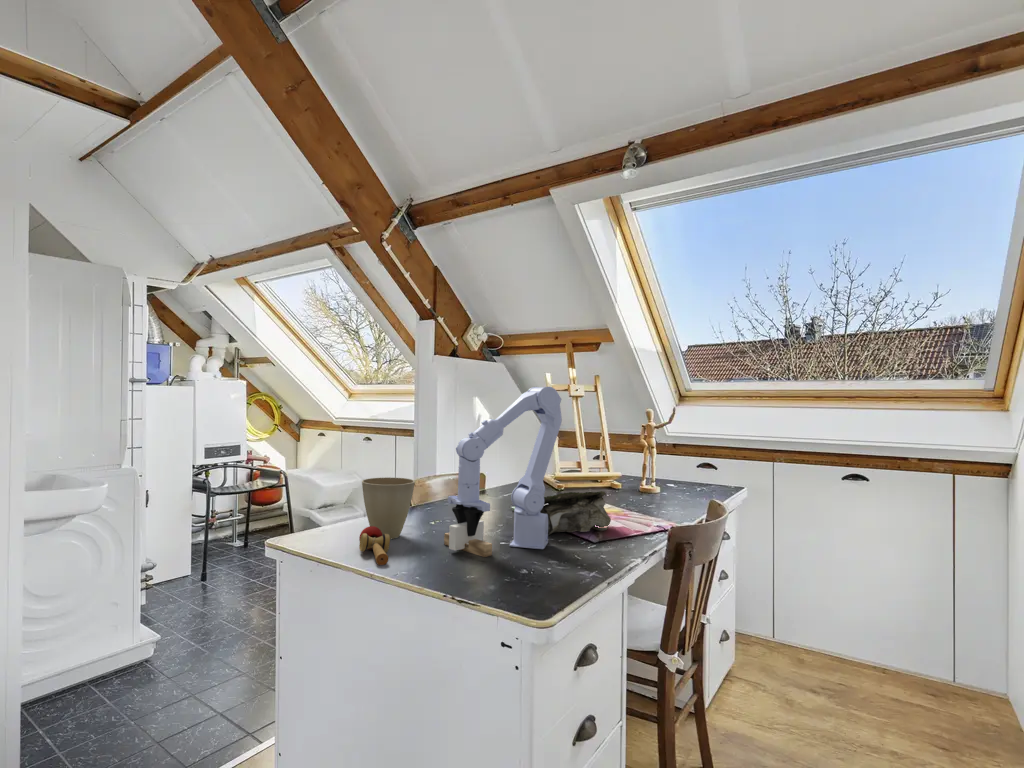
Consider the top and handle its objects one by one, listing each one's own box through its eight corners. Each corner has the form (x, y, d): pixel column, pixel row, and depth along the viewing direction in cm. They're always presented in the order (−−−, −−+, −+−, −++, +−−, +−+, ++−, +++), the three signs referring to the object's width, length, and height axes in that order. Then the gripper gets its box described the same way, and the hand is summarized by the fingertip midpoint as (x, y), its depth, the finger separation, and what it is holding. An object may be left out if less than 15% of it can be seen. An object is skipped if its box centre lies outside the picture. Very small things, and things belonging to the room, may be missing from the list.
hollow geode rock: (531, 552, 163) (548, 522, 154) (517, 515, 171) (532, 485, 162) (610, 540, 175) (630, 512, 165) (593, 506, 183) (612, 478, 174)
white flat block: (483, 543, 149) (483, 521, 149) (455, 550, 142) (455, 527, 142) (477, 541, 151) (477, 519, 151) (448, 548, 144) (449, 525, 144)
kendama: (401, 568, 134) (385, 540, 150) (397, 544, 133) (382, 518, 149) (368, 577, 131) (356, 547, 147) (365, 553, 130) (353, 525, 146)
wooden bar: (491, 555, 142) (492, 543, 142) (484, 557, 140) (485, 545, 140) (451, 542, 153) (451, 532, 153) (444, 544, 151) (444, 533, 151)
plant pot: (407, 544, 151) (409, 485, 151) (353, 542, 151) (355, 484, 151) (417, 530, 166) (419, 477, 166) (368, 529, 166) (370, 476, 166)
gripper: (439, 481, 149) (438, 531, 149) (476, 488, 139) (475, 542, 139) (459, 478, 154) (458, 527, 154) (496, 485, 144) (494, 537, 144)
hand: (467, 534), depth 147 cm, fingers closed on white flat block, 2 cm apart
